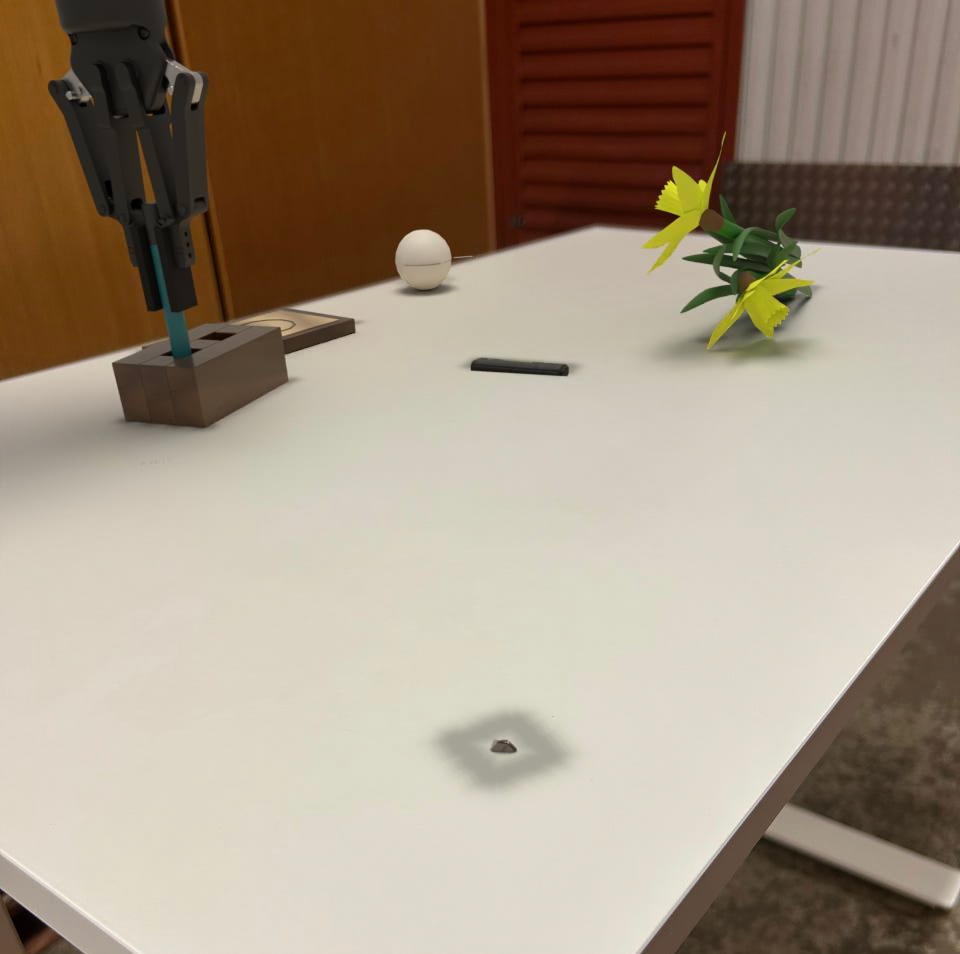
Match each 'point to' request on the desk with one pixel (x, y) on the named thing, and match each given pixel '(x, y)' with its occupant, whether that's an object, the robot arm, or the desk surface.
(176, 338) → the pen
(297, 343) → the picture frame
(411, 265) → the seamed sphere
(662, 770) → the desk surface
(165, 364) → the pen block
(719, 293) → the daffodil flowers
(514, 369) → the usb stick
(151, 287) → the robot arm
